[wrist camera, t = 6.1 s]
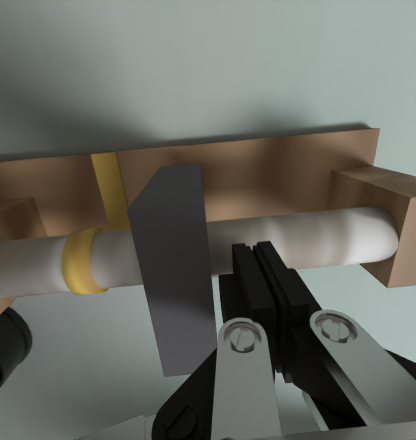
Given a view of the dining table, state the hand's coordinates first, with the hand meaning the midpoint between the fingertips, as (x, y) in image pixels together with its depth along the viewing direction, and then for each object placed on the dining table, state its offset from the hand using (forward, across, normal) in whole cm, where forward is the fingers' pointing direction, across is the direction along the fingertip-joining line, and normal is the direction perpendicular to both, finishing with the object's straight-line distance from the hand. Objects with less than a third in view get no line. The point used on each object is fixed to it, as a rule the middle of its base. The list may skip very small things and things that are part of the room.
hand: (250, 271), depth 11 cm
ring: (+6, +3, 0) cm, 7 cm away
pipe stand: (+8, +3, 0) cm, 9 cm away
